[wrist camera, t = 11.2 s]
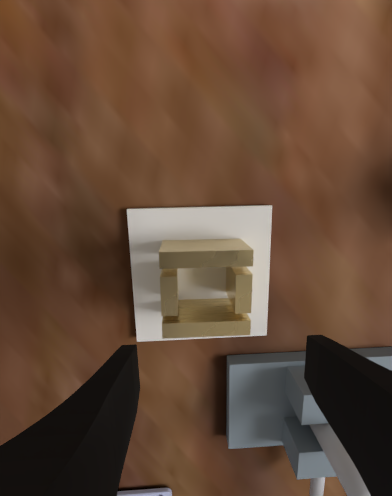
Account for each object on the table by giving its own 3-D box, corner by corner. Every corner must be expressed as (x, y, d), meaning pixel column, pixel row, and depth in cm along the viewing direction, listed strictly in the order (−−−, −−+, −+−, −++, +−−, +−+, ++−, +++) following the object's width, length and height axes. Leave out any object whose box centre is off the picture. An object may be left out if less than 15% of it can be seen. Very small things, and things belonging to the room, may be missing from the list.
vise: (226, 468, 24) (248, 605, 16) (226, 355, 22) (253, 453, 14) (374, 457, 25) (465, 584, 17) (392, 346, 22) (509, 435, 14)
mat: (138, 337, 21) (137, 341, 20) (128, 208, 19) (126, 209, 18) (264, 331, 21) (266, 335, 21) (269, 205, 19) (272, 205, 19)
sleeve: (165, 312, 20) (162, 338, 17) (162, 240, 19) (158, 252, 15) (238, 310, 20) (250, 335, 17) (240, 238, 19) (253, 250, 16)
